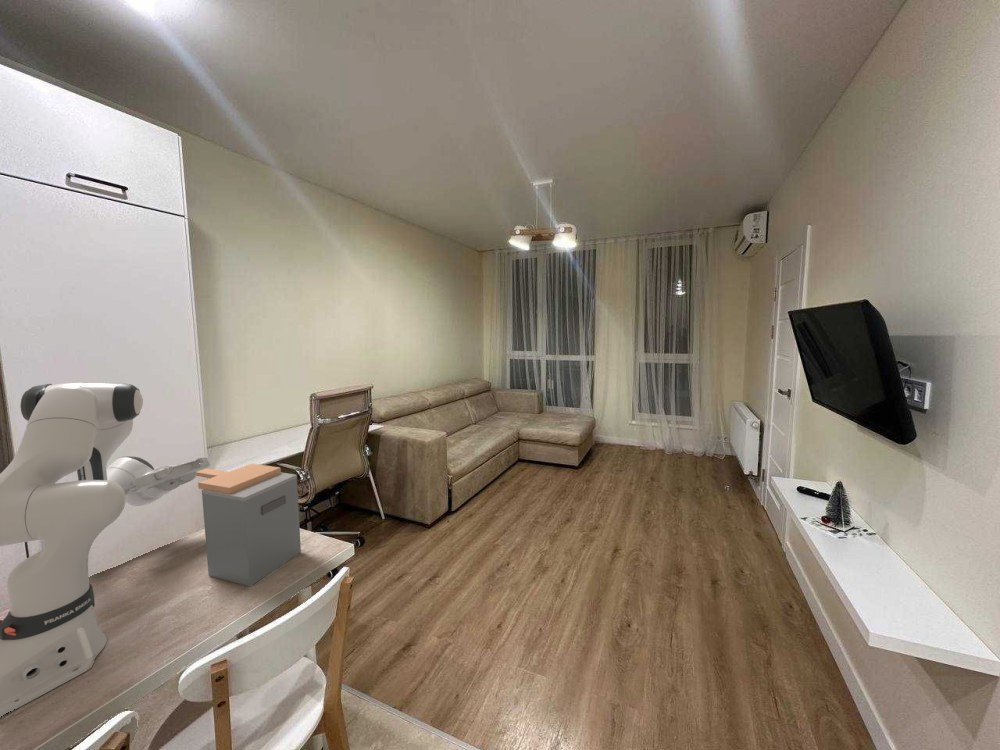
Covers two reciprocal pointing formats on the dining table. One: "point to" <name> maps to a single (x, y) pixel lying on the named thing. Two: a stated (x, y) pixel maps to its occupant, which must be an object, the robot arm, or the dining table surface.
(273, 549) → the crate
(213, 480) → the lid
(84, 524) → the robot arm
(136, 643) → the dining table surface
